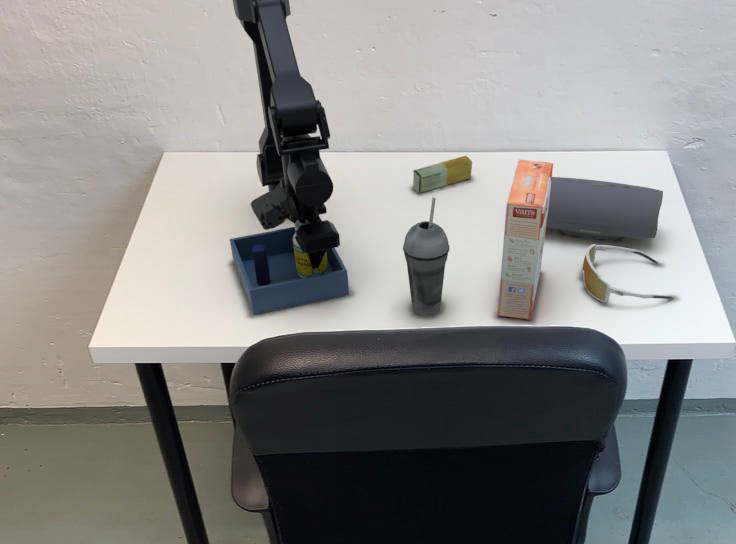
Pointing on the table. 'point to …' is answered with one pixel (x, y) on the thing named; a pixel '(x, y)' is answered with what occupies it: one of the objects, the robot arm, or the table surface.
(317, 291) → the storage box
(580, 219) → the bluetooth speaker
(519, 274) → the cracker box
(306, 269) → the supplement bottle
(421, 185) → the medication box
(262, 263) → the eraser
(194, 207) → the table surface
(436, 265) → the beverage cup
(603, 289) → the sunglasses
